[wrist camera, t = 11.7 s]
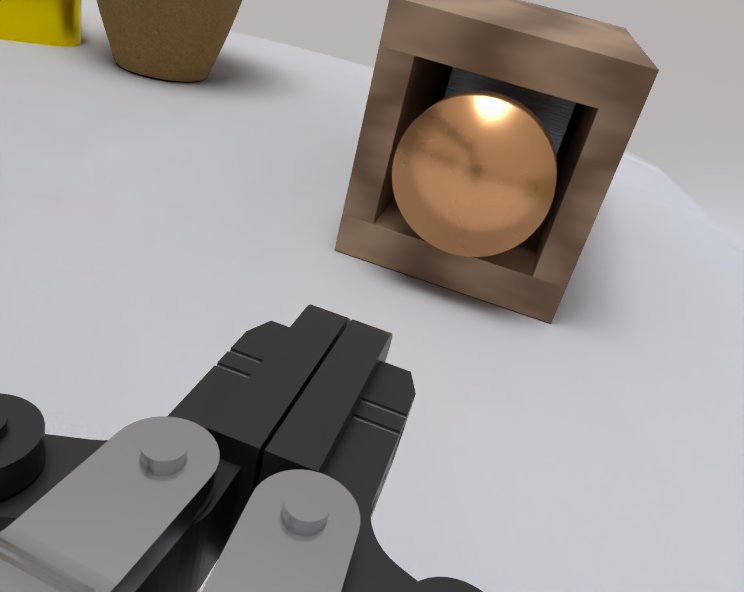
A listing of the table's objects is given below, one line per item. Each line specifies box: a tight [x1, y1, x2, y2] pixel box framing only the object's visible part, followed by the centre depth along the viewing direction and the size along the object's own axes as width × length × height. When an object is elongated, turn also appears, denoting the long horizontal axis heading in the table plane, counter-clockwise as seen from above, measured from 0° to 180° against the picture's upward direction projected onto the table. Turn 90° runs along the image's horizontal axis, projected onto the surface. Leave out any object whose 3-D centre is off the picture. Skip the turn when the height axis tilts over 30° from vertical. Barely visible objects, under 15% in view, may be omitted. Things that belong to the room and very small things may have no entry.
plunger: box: [392, 67, 576, 257], centre depth 37 cm, size 7×21×7 cm, turn 163°
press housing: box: [335, 0, 659, 323], centre depth 40 cm, size 11×24×12 cm, turn 163°
